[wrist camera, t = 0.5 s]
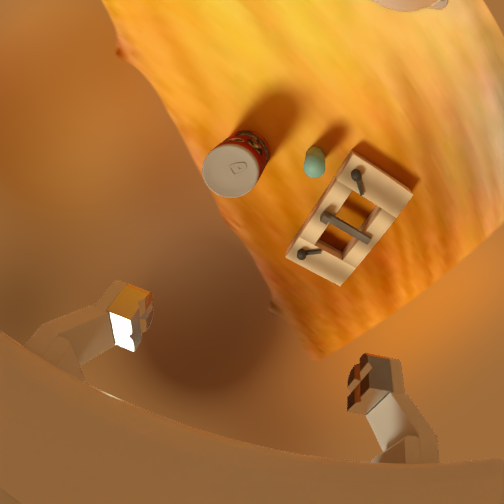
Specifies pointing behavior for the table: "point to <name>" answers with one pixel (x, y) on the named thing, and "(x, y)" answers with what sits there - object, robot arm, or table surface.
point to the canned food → (236, 164)
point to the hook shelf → (328, 257)
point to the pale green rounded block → (314, 162)
